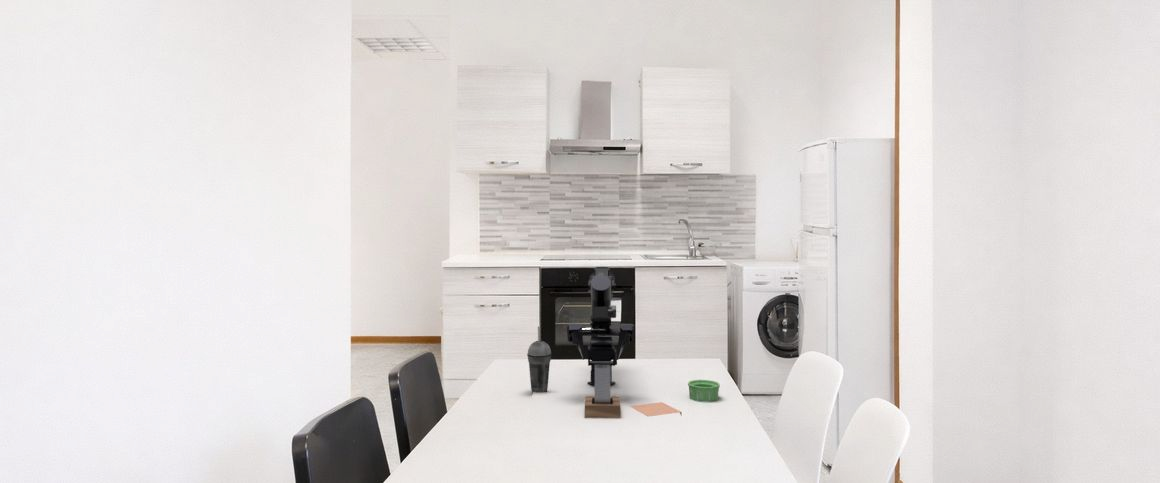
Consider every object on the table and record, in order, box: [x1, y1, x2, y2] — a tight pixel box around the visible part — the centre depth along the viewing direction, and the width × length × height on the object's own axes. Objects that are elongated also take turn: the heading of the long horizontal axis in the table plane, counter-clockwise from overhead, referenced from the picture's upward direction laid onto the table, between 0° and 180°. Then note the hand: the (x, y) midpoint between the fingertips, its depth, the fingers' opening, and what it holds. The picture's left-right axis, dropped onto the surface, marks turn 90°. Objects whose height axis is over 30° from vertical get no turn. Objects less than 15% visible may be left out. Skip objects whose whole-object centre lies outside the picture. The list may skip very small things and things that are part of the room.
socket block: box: [584, 395, 621, 419], centre depth 161 cm, size 9×9×4 cm
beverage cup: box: [527, 326, 552, 395], centre depth 184 cm, size 7×7×20 cm
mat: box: [629, 401, 683, 417], centre depth 165 cm, size 10×10×1 cm
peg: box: [594, 365, 611, 404], centre depth 161 cm, size 4×4×12 cm
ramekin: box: [687, 379, 721, 402], centre depth 179 cm, size 9×9×4 cm
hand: (600, 358), depth 169 cm, fingers open, 9 cm apart
